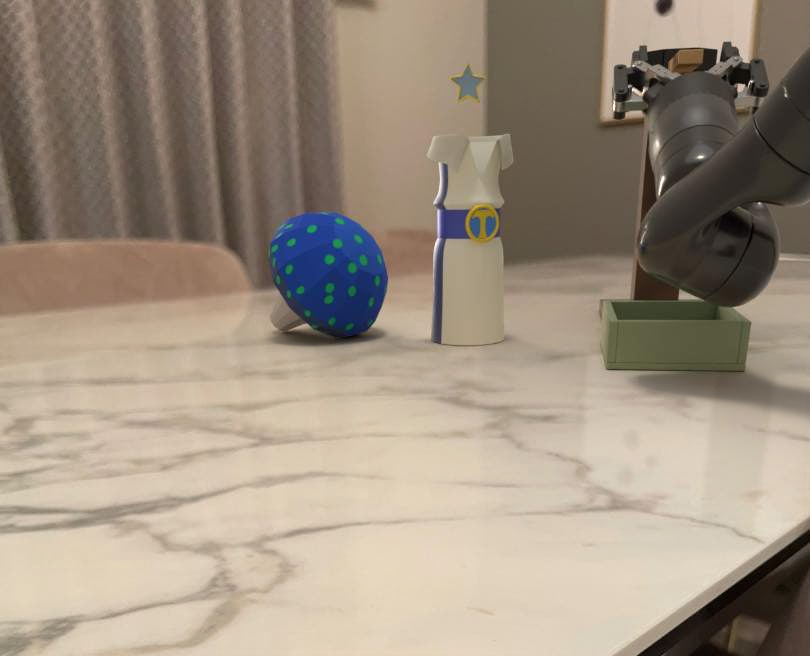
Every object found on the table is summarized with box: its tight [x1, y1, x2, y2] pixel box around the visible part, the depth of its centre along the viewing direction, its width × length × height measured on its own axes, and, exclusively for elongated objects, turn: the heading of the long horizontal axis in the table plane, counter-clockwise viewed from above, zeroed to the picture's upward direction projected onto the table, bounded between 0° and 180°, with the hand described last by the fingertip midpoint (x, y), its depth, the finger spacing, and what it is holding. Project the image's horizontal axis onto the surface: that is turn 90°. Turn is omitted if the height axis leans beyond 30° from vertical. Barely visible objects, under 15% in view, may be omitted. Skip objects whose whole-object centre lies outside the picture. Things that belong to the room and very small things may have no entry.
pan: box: [647, 46, 719, 74], centre depth 86 cm, size 8×17×3 cm, turn 170°
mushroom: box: [267, 211, 389, 339], centre depth 91 cm, size 14×14×15 cm
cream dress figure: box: [426, 62, 514, 346], centre depth 84 cm, size 8×8×25 cm
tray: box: [599, 300, 752, 372], centre depth 77 cm, size 11×13×4 cm
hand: (682, 53), depth 84 cm, fingers open, 7 cm apart
